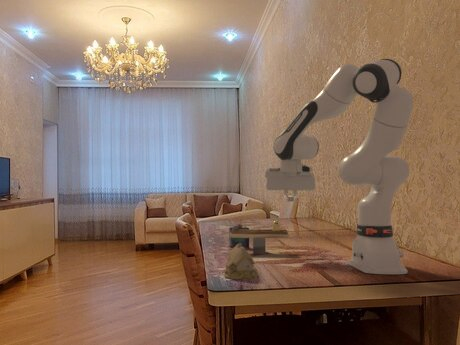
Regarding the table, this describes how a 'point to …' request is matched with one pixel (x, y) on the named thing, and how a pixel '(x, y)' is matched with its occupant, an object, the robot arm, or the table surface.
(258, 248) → the beam
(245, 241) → the flask
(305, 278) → the table surface
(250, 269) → the ceramic model
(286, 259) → the table surface
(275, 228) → the rider
